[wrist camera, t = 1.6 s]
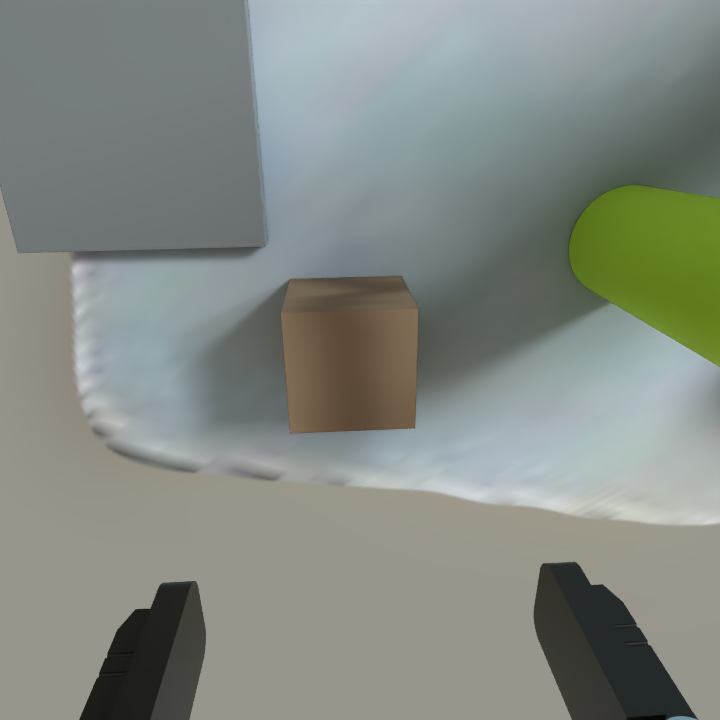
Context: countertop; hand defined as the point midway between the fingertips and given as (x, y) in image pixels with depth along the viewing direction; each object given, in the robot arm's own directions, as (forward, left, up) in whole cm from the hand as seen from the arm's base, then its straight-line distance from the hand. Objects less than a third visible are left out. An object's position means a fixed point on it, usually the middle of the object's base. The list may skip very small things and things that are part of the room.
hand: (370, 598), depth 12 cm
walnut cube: (0, 0, -19) cm, 19 cm away
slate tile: (+10, -11, -19) cm, 24 cm away
